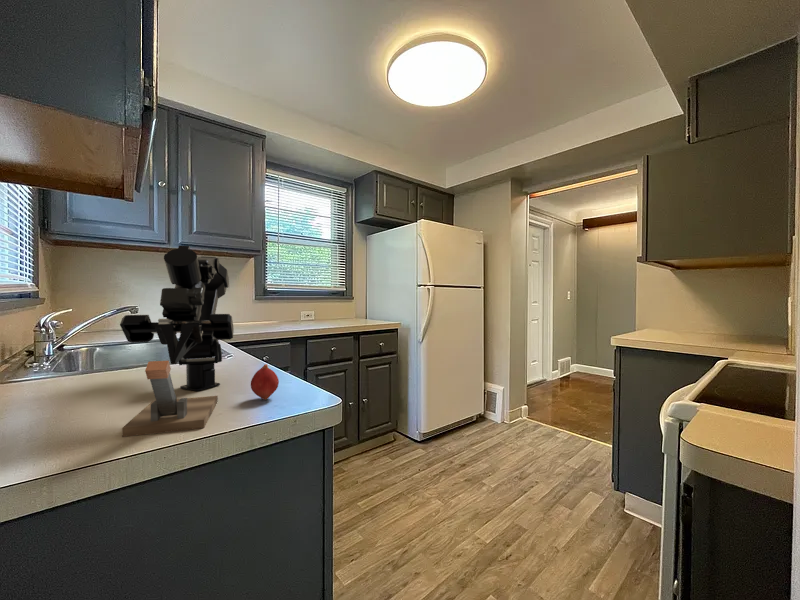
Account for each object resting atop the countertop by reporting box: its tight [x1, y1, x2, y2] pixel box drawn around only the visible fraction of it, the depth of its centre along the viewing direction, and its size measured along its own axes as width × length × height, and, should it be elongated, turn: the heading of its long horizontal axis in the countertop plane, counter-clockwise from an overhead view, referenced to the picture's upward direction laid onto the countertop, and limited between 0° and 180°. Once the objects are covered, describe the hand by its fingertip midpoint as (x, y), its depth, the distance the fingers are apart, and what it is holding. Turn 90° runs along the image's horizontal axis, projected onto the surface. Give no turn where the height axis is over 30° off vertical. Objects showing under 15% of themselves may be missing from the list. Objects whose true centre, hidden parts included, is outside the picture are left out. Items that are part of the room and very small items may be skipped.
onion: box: [250, 363, 280, 401], centre depth 78 cm, size 6×6×8 cm
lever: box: [144, 360, 177, 416], centre depth 59 cm, size 2×3×12 cm
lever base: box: [121, 395, 219, 438], centre depth 67 cm, size 15×12×4 cm
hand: (173, 362), depth 65 cm, fingers closed
